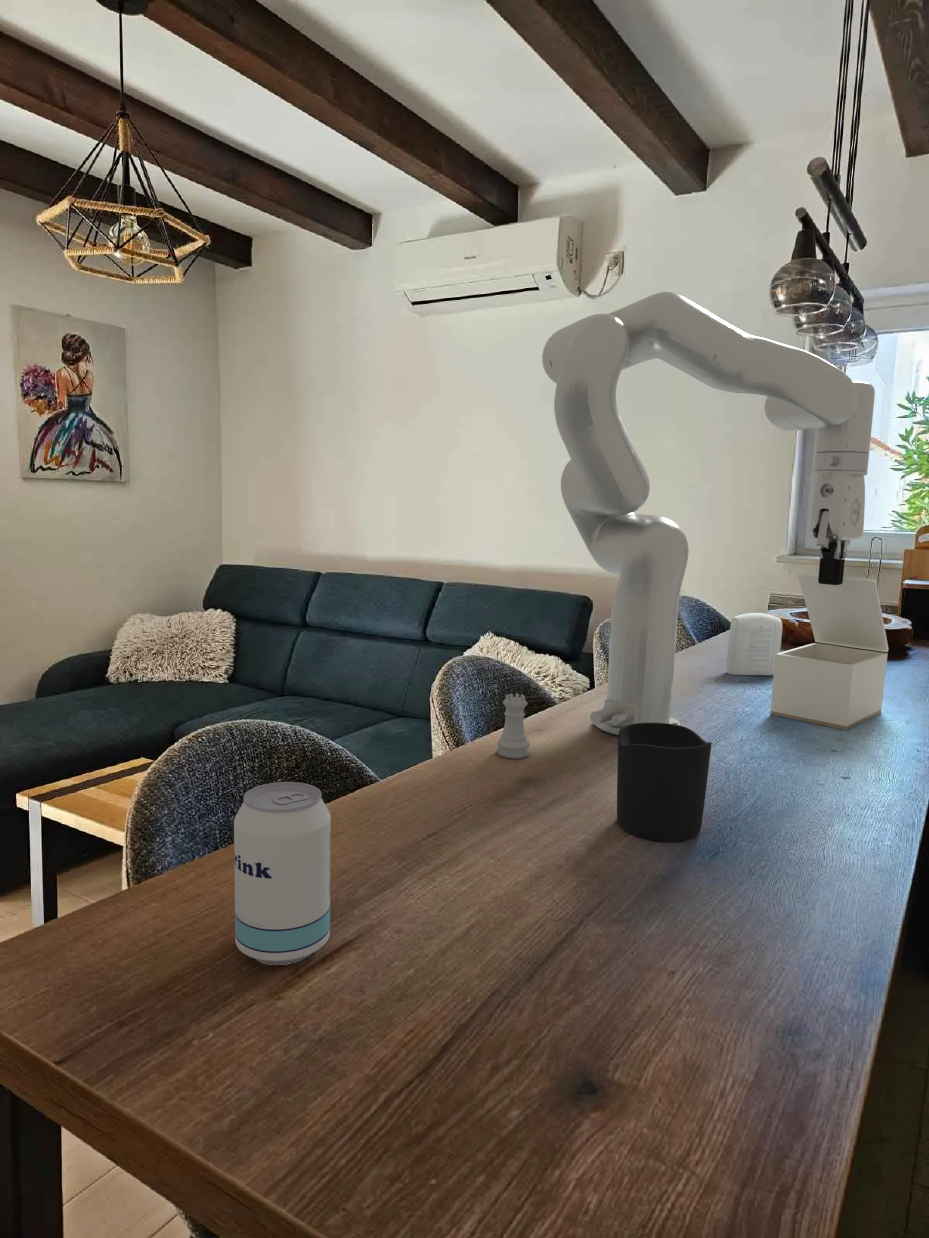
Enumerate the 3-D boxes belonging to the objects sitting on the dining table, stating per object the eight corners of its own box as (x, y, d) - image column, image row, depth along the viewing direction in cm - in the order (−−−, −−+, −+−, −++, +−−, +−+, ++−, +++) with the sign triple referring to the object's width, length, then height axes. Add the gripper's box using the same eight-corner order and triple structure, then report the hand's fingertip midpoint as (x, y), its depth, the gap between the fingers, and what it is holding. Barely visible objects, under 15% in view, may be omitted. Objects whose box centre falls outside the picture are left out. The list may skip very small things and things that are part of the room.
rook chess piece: (490, 756, 110) (492, 696, 109) (504, 747, 114) (507, 690, 113) (521, 762, 108) (524, 701, 107) (535, 753, 112) (537, 694, 111)
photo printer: (770, 672, 170) (776, 611, 168) (781, 676, 165) (787, 615, 164) (722, 672, 168) (727, 611, 166) (732, 676, 164) (737, 614, 162)
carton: (846, 730, 128) (853, 666, 126) (770, 714, 136) (775, 653, 134) (881, 712, 139) (887, 653, 138) (808, 698, 147) (814, 643, 146)
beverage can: (218, 945, 63) (215, 792, 61) (296, 915, 68) (296, 772, 66) (267, 986, 58) (266, 821, 56) (348, 950, 63) (349, 797, 61)
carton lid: (874, 581, 129) (875, 579, 129) (798, 574, 137) (799, 572, 137) (887, 652, 138) (888, 649, 138) (815, 641, 146) (816, 639, 146)
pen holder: (714, 822, 90) (721, 732, 88) (690, 853, 82) (697, 754, 80) (630, 803, 95) (635, 717, 93) (599, 831, 87) (605, 737, 85)
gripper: (848, 463, 121) (836, 589, 123) (883, 467, 131) (871, 583, 134) (796, 463, 126) (786, 585, 128) (834, 467, 136) (824, 579, 139)
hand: (830, 583), depth 131 cm, fingers closed
